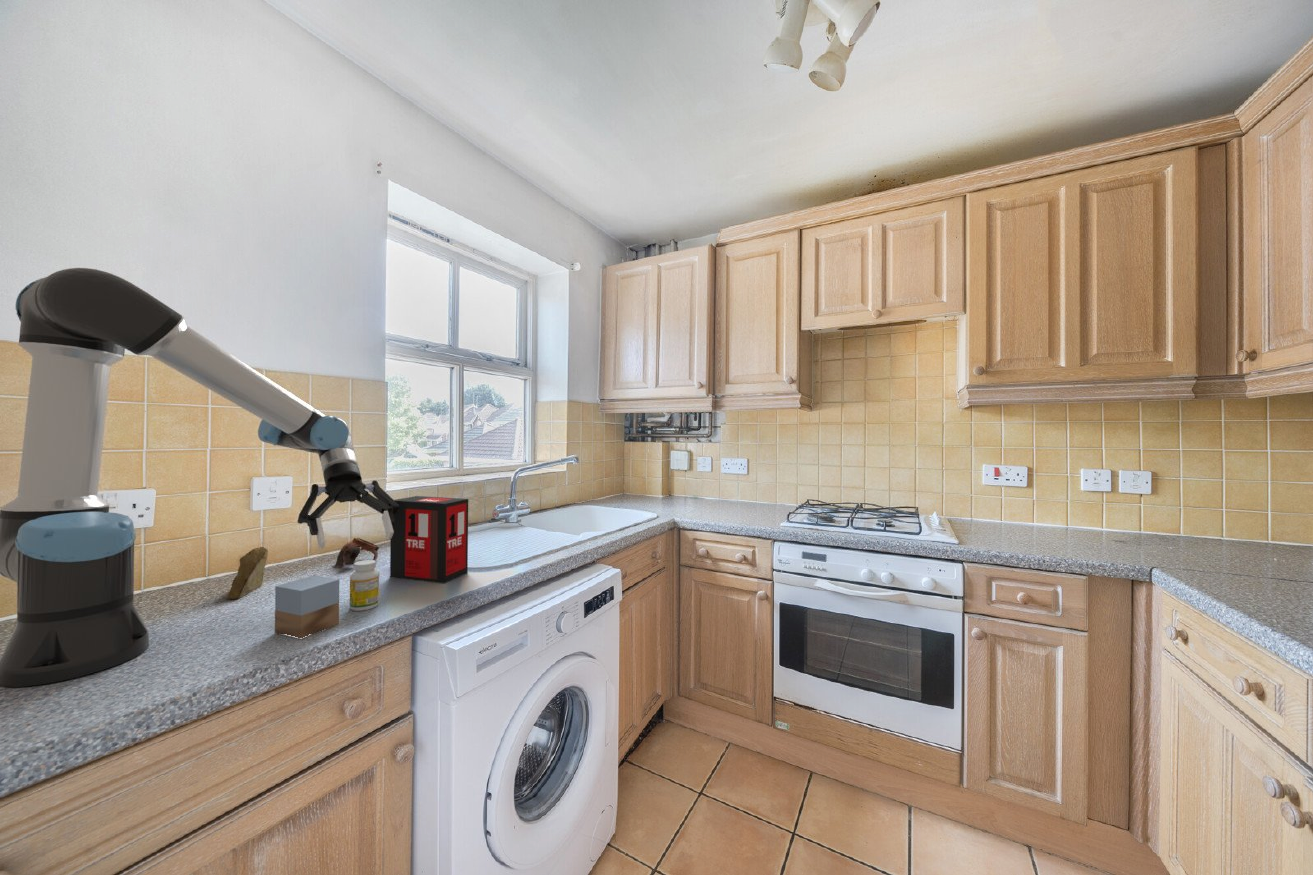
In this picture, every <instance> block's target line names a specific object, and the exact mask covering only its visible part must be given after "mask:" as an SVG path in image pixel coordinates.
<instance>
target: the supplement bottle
mask: <svg viewBox="0 0 1313 875" xmlns="http://www.w3.org/2000/svg"><path fill="white" fill-rule="evenodd" d="M376 566H377V560H376V561H375V560H373V559H364V560H357V561H355V562H354V564H353V571H354V572H352V573H351V574H350V576H349V609H350V610H352V611H355V612H359V611H360V612H362V611H368V610H371V609H375V608H376V607H378V606H379V603H380V571H379V570H377V569H376Z"/></svg>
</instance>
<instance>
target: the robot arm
mask: <svg viewBox="0 0 1313 875" xmlns="http://www.w3.org/2000/svg"><path fill="white" fill-rule="evenodd" d="M15 310H16V316H17V317H18V320H19V321H20V327H19V337H18V338H19V339H18V346H19V347H20V348H21V349H23V350H25V352H27V353H28V354H29V355H30V356H31V358H32V360H31V366H30V367H31V368H30V379H29V387H28V393H27V394H28V395H27V406H26V414H25V422H24V423H25V424H24V433H23V443H22V450H21V451H22V452H21V458H20V459H21V462H20V469H19V479H18V480H19V481H18V488H17V496H16V498H14V499H13V500H11V501H9V502H8V503H6V504H4V505H3V506H0V576H3V577H4V578H7V579H9V580H11V581H13V582H16V588H17V589H16V603H17V604H16V627H15V629H14V631H13V633H12V635H11V637H10V639H9V641H8V643H7V645H6V647H5V649H4V652H3V653H2V655H1V657H0V686H1V687H2V686H3V687H9V688H11V687H15V688H16V687H30V686H38V685H39V686H40V685H46V684H51V683H57V682H61V681H66V680H72V679H75V678H80V677H82V676H84V677H85V676H86V675H90V674H94V673H97V672H100V671H104V670H107V669H110V668H112V667H115V666H118V665H121V664H123V663H126V662H128V661H130V660H132V659H134V658H136V657H138V656H139V655H141V654H143V653H144V652H146V650H147V649H148V648H149V646H150V641H149V640H150V635H149V631H148V629H147V627H146V625H145V623H144V621H143V619H142V617H141V616H140V614H139V611H138V609H137V608H136V606H135V602H134V601H135V600H134V594H135V592H134V590H135V540H136V538H137V536H136V531H135V528H134V521H133V520H132V518H130V516H127V515H125V514H123V513H117V512H110V503H109V502H107V501H106V500H104V499H103V498H101V496H99V494H98V493H99V485H100V484H99V483H100V476H101V475H100V473H101V464H102V455H103V444H104V433H105V423H106V415H107V405H108V404H107V403H108V394H109V384H110V374H111V367H112V366H113V365H114V364H116V363H118V362H121V361H123V360H124V359H125V351H126V350H127V351H129V352H131V353H133V354H135V355H137V356H149V357H152V358H154V359H156V360H157V361H159V362H161V363H163V364H164V365H166V366H168V367H170V368H171V369H173V370H175V371H176V372H178V373H180V374H182V375H184V376H186V377H187V378H189V379H191V380H192V381H194V382H196V383H198V384H199V385H201V386H203V387H205V388H207V389H209V390H210V391H211V392H214V393H216V394H217V395H219V396H220V397H222V398H224V399H226V400H227V401H229V402H231V403H232V404H235V405H237V406H238V407H240V408H241V409H243V410H246V411H248V412H249V413H250V414H251V415H254V416H256V417H257V418H259V419H261V421H260V422H259V426H258V429H257V437H258V439H259V440H260V441H262V442H263V443H266V444H271V445H273V446H275V447H276V446H278V447H284V448H288V449H294V450H299V451H303V452H308V453H312V454H313V453H314V454H317V455H318V457H319V462H320V465H321V470H322V475H323V479H324V480H323V481H324V485H325V486H319V484H317V483H313V484H312V485H311V488H310V492H309V495H308V498H307V500H306V502H305V503H304V505H303V507H302V509H301V510H300V512H299V513H298V518H297V524H306V525H307V527H308V529H309V534H310V536H316V540H317V545H318V550H323V549H324V547H325V544H326V539H325V533H324V528H323V527H324V526H323V524H322V519H321V518H322V516H323V515H324V514H325V513H326V511H328V509H329V508H331V507H332V506H333V505H334V504H335V503H336V502H339V503H340V504H341V503H347V502H349V503H350V502H356V501H357V502H359V503H361V504H365V505H366V506H368V507H370V508H372V509H373V510H375V511H377V512H378V513H380V514H382V517H381V520H382V524H383V527H384V530H385V534H386V538H387V540H390V539H391V538H392V536H393V533H394V531H393V527H392V525H393V524H394V521H395V520H394V516H393V513H397V510H398V508H399V504H397V503H396V502H395V501H394V500H395V499H394V498H392V497H391V496H390V495H389V494H388V493H387V492H386V491H385V490H384V489H383V488H382V487H381V486H380V485H379V482H378V481H377V480H372V481H371V482H369V483H365V482H364V481H363V478H362V475H361V474H362V473H361V471H360V468H359V463H358V460H357V456H356V454H355V449H354V445H353V441H352V434H351V432H350V430H349V426H348V425H347V423H346V422H345V421H344V420H343V419H341V418H339V417H336V416H332V415H326V414H324V413H322V412H321V411H320V410H318V409H316V408H315V407H313V406H311V405H310V404H308V403H306V402H305V401H304V400H302V399H300V398H298V397H297V396H296V395H294V394H293V393H292V392H290V391H288V390H287V389H285V388H284V387H282V386H280V385H279V384H278V383H275V382H274V381H273V380H271V379H269V378H268V377H266V376H265V375H264V374H262V373H260V372H259V371H257V370H256V369H254V368H253V367H252V366H249V365H248V364H246V363H245V362H243V361H242V360H240V359H239V358H238V357H236V356H234V355H233V354H231V353H230V352H228V351H226V350H225V349H223V348H221V346H219V345H217V344H216V343H214V342H212V340H210V339H208V338H206V337H204V336H203V335H202V334H200V333H199V332H197V331H196V330H194V329H192V328H191V327H189V326H188V325H187V324H186V322H185V321H186V320H185V317H184V316H183V315H182V314H180V313H179V312H177V311H176V310H174V309H173V308H171V307H170V306H168V305H167V304H165V303H164V302H162V301H161V300H159V299H158V298H156V297H154V296H153V295H152V294H150V293H148V292H147V291H145V290H143V289H142V288H140V287H139V286H137V285H136V284H134V283H133V282H131V281H129V280H126V279H125V278H122V277H120V276H119V275H116V274H114V273H111V272H108V271H104V270H100V269H97V268H87V267H73V268H71V267H70V268H65V269H64V268H63V269H61V270H58V271H57V270H56V271H55V272H53V273H51V274H49V275H48V276H45V277H42V278H38V279H37V280H35V281H32V282H30V283H29V284H27V285H26V286H24V288H23V289H21V290H20V292H19V293H18V295H17V297H16V301H15ZM322 493H325V494H326V495H327V497H326V498H325V499H324V501H322V502H321V503H320V504H319V505H318V507H316V509H314V511H312V512H311V510H312V508H313V507H314V504H315V502H316V500H317V497H320V496H321V495H322ZM370 493H372V494H370ZM310 512H311V514H309V513H310Z"/></svg>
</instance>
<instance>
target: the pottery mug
mask: <svg viewBox="0 0 1313 875" xmlns="http://www.w3.org/2000/svg"><path fill="white" fill-rule="evenodd" d="M379 549H380V546H379V545H377V544H374V543H372V542H370V541H367V540H365V539H362V538H359V537H353V539H352V540H351V541H348V542H346V543H345V544H344V545H343V546H342V548H341V549H340V550H339V552H338V554H337V555H338V556H337V558H336V561H335V565H336V566H338V567H340V568H343V567H344V564H345V565H346V566H351V565H354V563H355V562H356V559H357V558H358V557H359V555H360V553H361V551H367V552H371V553H372V554H373V558H372V560H375V561H376V562H377V560H378V559H377V558H378V556H379V554H378V551H379Z"/></svg>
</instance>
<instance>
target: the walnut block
mask: <svg viewBox="0 0 1313 875" xmlns="http://www.w3.org/2000/svg"><path fill="white" fill-rule="evenodd" d="M339 624H340V602H339V603H336V604H333V605H330V606H327V607H324V608H322V609H319V610H316V611H313V612H310V613H307V614H305V615H302V616H301V615H296V614H291V613H286V612H281V611H276V610H275V609H274V634H275V633H277V634H276V635H279V634H287V635H291V636H295V637H298V638H303V637H305V636H308V635H309V634H314V633H316V634H318V633H317V632H319V631H321V632H323V631H322V630H324V629H326V630H328V628H329V629H331V628H333V626H334V627H336V626H338V625H339ZM335 625H336V626H335ZM324 631H325V630H324ZM319 633H320V632H319ZM314 635H315V634H314Z"/></svg>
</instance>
